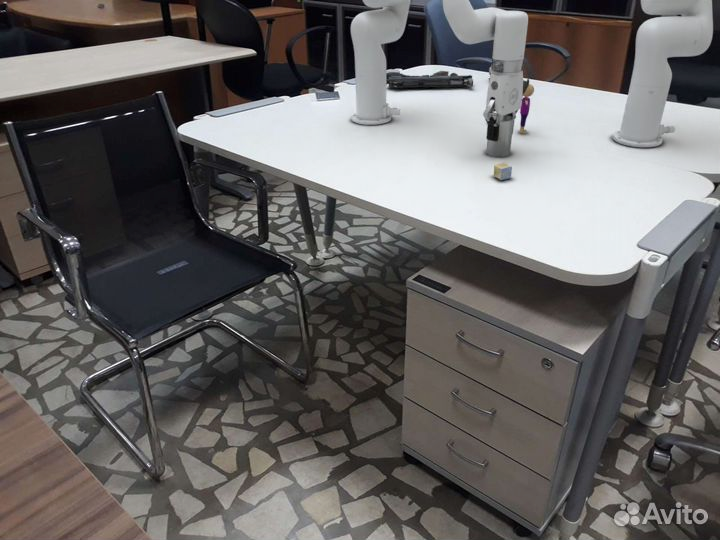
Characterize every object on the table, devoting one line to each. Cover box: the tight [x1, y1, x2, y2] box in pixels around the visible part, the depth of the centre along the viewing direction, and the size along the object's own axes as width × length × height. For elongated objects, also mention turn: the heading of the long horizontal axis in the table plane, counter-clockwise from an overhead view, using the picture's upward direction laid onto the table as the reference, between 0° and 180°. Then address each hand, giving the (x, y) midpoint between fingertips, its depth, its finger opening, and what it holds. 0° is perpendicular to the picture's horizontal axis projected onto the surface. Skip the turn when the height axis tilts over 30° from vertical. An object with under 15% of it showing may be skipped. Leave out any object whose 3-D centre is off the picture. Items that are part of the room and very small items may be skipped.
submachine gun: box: [386, 70, 474, 89], centre depth 219 cm, size 33×4×25 cm
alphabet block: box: [493, 162, 513, 181], centre depth 136 cm, size 3×3×3 cm
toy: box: [519, 78, 535, 134], centre depth 162 cm, size 10×6×15 cm, turn 168°
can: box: [485, 115, 515, 158], centre depth 150 cm, size 6×6×10 cm
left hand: (499, 136), depth 150 cm, fingers closed on can, 6 cm apart
